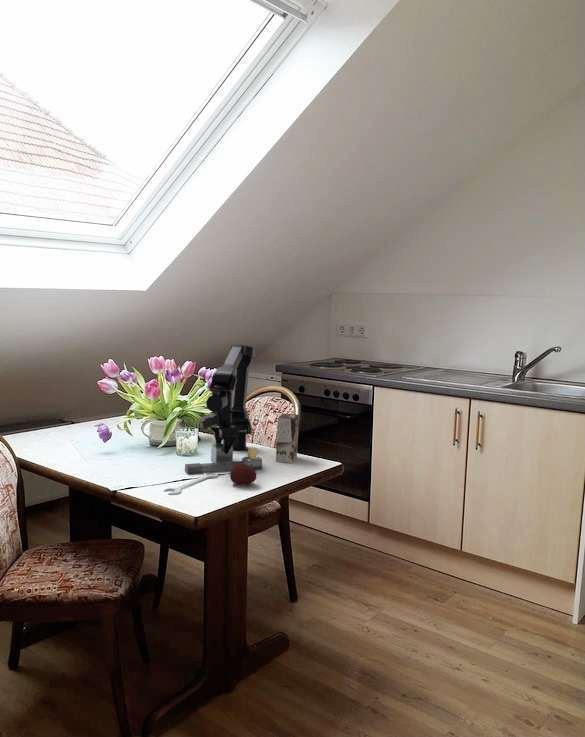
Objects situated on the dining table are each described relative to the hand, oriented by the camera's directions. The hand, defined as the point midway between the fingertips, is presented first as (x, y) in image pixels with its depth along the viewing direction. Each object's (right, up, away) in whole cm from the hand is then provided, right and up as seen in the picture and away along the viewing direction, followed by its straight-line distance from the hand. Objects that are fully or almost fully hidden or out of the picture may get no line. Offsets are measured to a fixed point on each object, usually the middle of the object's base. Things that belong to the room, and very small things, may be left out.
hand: (222, 450), depth 230 cm
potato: (+9, -8, -23) cm, 27 cm away
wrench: (-7, -8, -25) cm, 27 cm away
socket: (0, -4, 0) cm, 4 cm away
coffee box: (+23, -5, +8) cm, 24 cm away
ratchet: (+2, -6, -8) cm, 10 cm away
